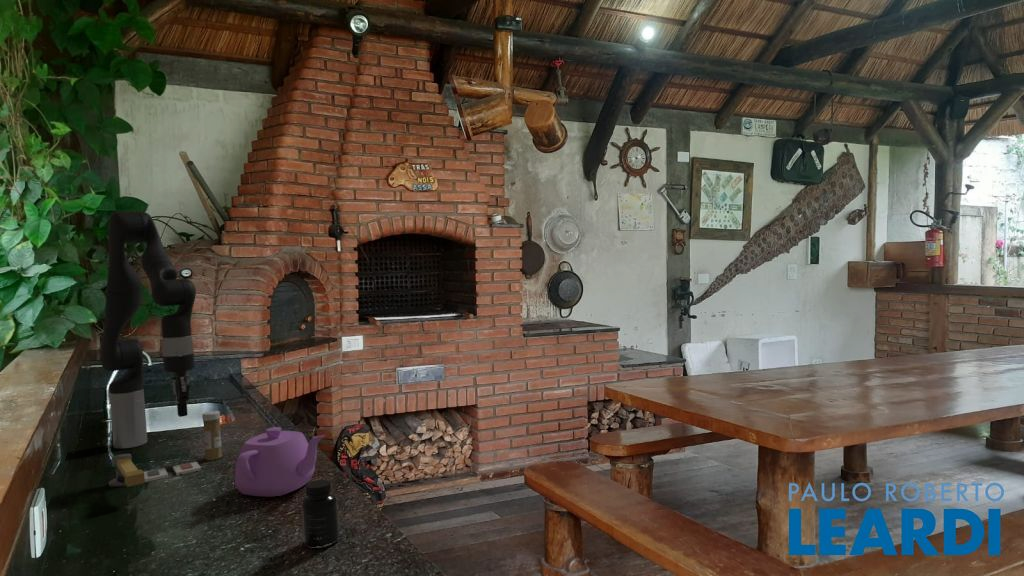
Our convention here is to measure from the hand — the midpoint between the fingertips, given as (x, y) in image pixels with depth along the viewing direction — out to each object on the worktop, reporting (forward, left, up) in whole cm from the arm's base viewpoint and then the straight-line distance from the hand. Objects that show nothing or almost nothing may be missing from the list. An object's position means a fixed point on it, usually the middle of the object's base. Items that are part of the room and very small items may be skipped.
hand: (182, 415), depth 176 cm
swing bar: (+9, -14, -10) cm, 20 cm away
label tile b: (0, 0, -15) cm, 15 cm away
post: (0, -15, -15) cm, 21 cm away
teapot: (+32, +16, -15) cm, 39 cm away
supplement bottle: (+69, +14, -15) cm, 72 cm away
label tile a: (0, -8, -15) cm, 17 cm away
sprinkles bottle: (-6, +8, -15) cm, 18 cm away
